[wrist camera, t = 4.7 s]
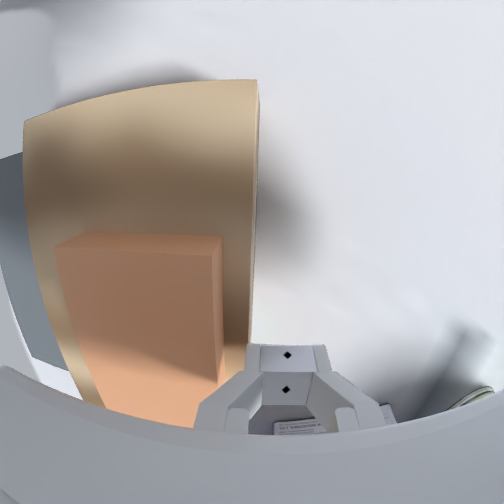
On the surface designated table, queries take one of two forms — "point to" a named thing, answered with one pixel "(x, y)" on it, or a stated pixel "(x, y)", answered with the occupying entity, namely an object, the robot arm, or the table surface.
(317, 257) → the table surface
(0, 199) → the mat
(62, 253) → the block
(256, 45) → the table surface
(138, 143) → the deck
